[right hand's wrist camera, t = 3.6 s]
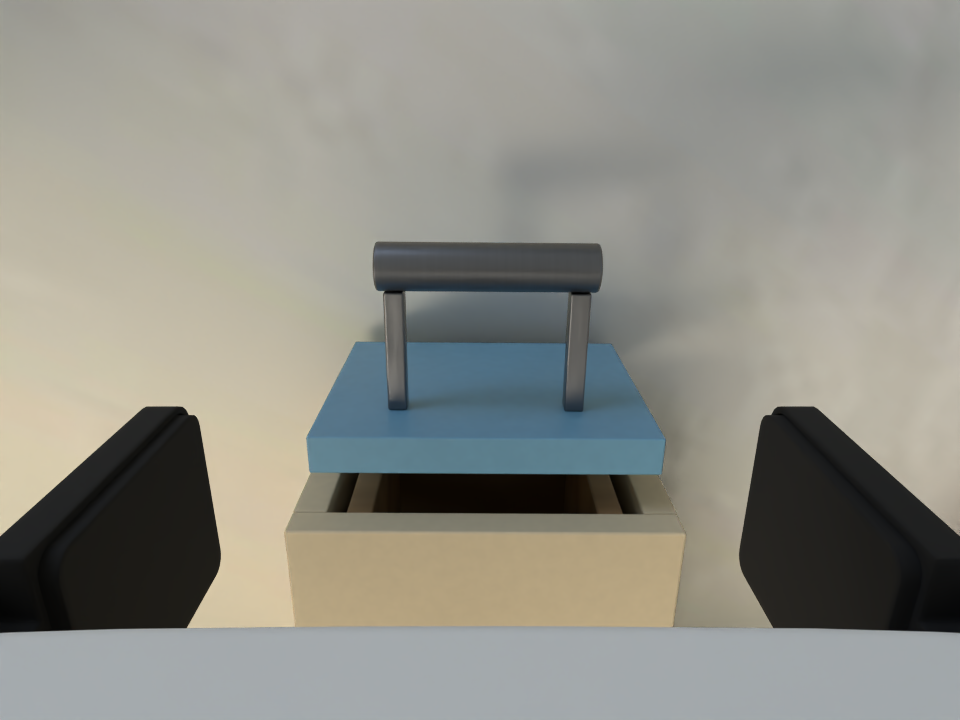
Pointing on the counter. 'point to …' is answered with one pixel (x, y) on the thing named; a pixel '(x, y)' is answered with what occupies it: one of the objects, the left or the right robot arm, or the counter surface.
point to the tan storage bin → (484, 563)
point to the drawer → (485, 397)
